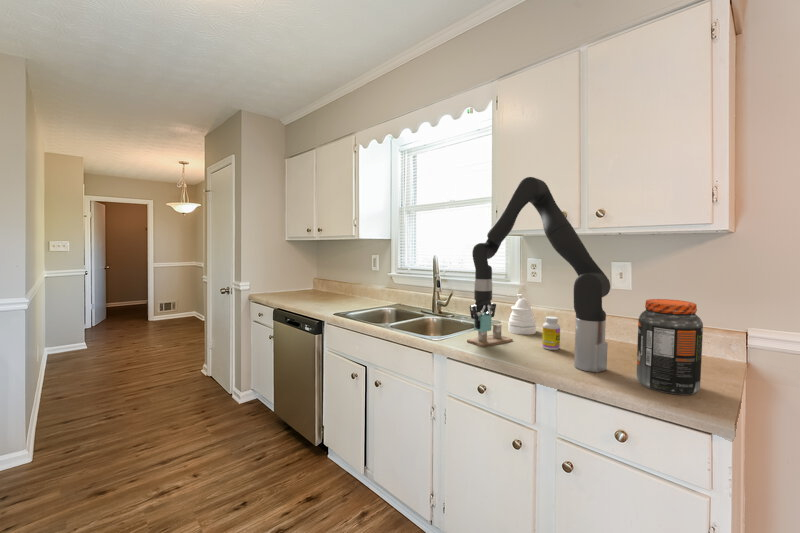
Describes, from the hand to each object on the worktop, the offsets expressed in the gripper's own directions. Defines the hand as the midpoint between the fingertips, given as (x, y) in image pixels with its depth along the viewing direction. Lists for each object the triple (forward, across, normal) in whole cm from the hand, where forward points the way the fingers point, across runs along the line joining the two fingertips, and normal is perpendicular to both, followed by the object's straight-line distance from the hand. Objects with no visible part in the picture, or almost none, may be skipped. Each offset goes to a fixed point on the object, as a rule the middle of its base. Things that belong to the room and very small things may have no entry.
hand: (482, 327), depth 160 cm
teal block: (+1, 0, 0) cm, 1 cm away
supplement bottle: (+7, +18, -21) cm, 29 cm away
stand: (+7, +4, 0) cm, 8 cm away
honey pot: (+7, +32, +5) cm, 33 cm away
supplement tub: (+7, +12, -65) cm, 67 cm away
